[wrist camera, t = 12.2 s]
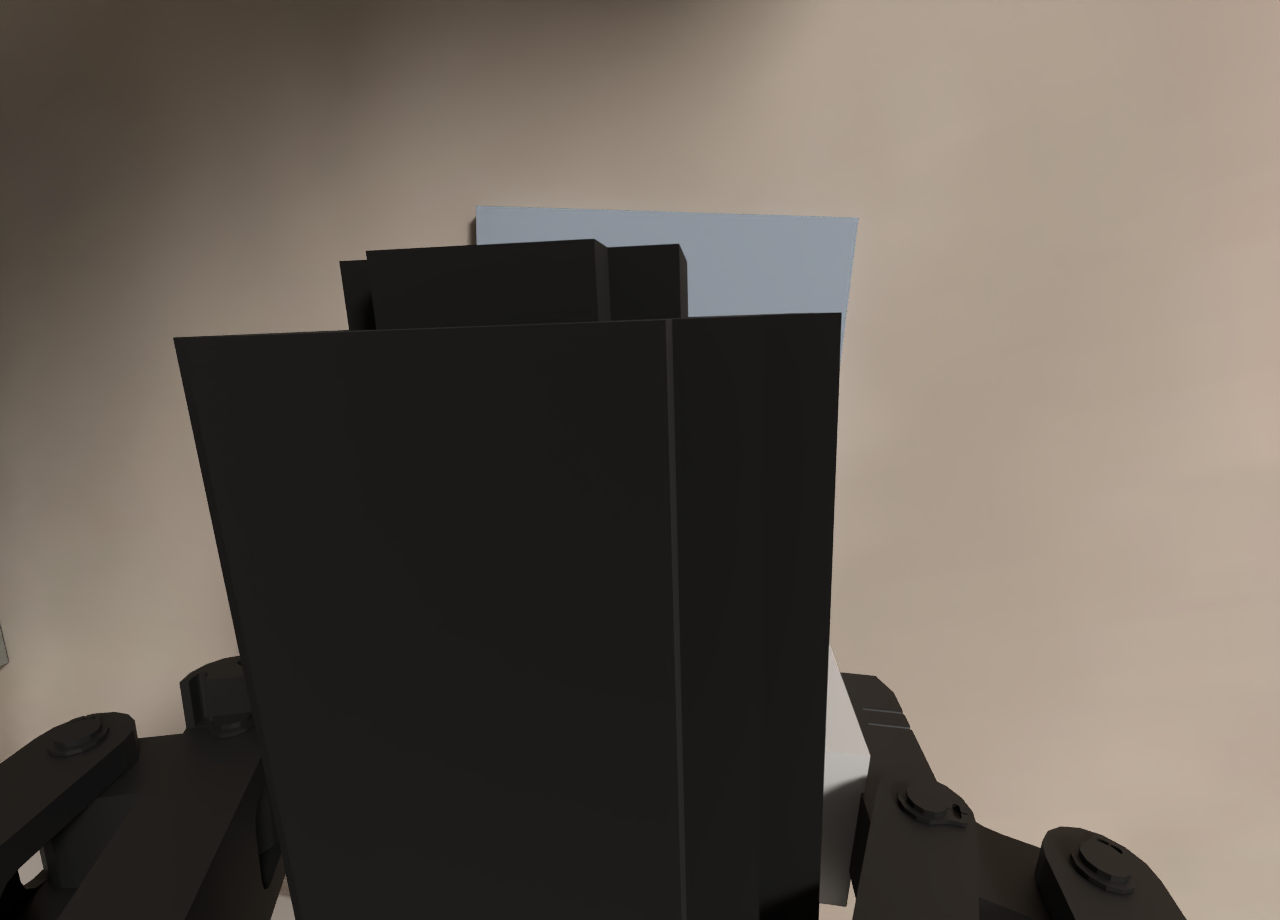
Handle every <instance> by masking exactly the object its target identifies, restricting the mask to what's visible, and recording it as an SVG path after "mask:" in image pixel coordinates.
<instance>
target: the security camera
mask: <svg viewBox="0 0 1280 920" xmlns="http://www.w3.org/2000/svg"><path fill="white" fill-rule="evenodd" d="M366 256H367V260H355V261H339V262H340V269H341V276H342V283H343V290H344V297H345V304H346V311H347V318H348V324H349V330H340V331H316V332H293V333H269V334H246V335H223V336H199V337H176V338H173V339H174V344H175V349H176V354H177V358H178V363H179V368H180V373H181V377H182V382H183V387H184V392H185V396H186V401H187V406H188V411H189V415H190V420H191V425H192V430H193V434H194V439H195V444H196V449H197V454H198V458H199V463H200V468H201V473H202V477H203V482H204V487H205V492H206V496H207V501H208V506H209V511H210V515H211V520H212V525H213V530H214V534H215V539H216V544H217V549H218V553H219V558H220V563H221V568H222V572H223V577H224V582H225V587H226V592H227V596H228V601H229V606H230V611H231V615H232V620H233V625H234V630H235V634H236V639H237V644H238V649H239V653H240V658H241V663H242V668H243V672H244V677H245V682H246V687H247V691H248V696H249V701H250V706H251V711H252V715H253V720H254V725H255V730H256V734H257V739H258V744H259V749H260V753H261V758H262V763H263V768H264V772H265V777H266V782H267V787H268V791H269V796H270V801H271V806H272V810H273V815H274V820H275V825H276V829H277V834H278V839H279V844H280V849H281V853H282V858H283V863H284V868H285V872H286V877H287V882H288V887H289V891H290V896H291V901H292V905H293V910H294V915H295V920H819V895H820V869H821V843H822V817H823V790H824V764H825V738H826V712H827V686H828V659H829V633H830V607H831V581H832V555H833V528H834V502H835V476H836V450H837V424H838V397H839V371H840V345H841V319H842V312H836V313H784V314H758V315H728V316H702V317H688V276H687V260H686V258H685V256H684V253H683V251H682V249H681V247H680V244H660V245H641V246H622V247H606V246H605V245H603V244H602V243H600V242H599V241H597V240H596V239H577V240H558V241H540V242H521V243H503V244H484V245H466V246H448V247H429V248H411V249H392V250H374V251H366Z"/></svg>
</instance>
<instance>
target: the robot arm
mask: <svg viewBox="0 0 1280 920" xmlns="http://www.w3.org/2000/svg"><path fill="white" fill-rule="evenodd" d="M180 689H181V696H182V702H183V709H184V715H185V722H186V730H185V731H184V733H183V734H175V735H166V736H156V737H146V738H138V737H137V731H136V725H135V720H134V719H133V718H131V717H130V716H129V715H128V714H123V713H118V712H109V713H96V714H90V715H87V716H85V717H84V716H82V717H78V718H75V719H72V720H71V721H69V722H66V723H64V724H62V725H59V726H57V727H54V728H52V729H51V730H49V731H47V732H46V733H44V734H42V735H40V736H39V737H37V738H35V739H34V740H33V741H31V742H30V743H28V744H27V745H26V746H24V747H23V748H21V749H20V750H19V751H17V752H16V753H15V754H13V755H12V756H10V757H9V758H8V759H6V760H5V761H3V762H2V763H1V764H0V920H270V919H271V916H272V913H273V910H274V907H275V904H276V901H277V898H278V895H279V892H280V889H281V886H282V883H283V880H284V877H285V874H286V872H285V868H284V863H283V858H282V853H281V849H280V844H279V839H278V834H277V829H276V825H275V820H274V815H273V810H272V806H271V801H270V796H269V791H268V787H267V782H266V777H265V772H264V768H263V763H262V758H261V753H260V749H259V744H258V739H257V734H256V730H255V725H254V720H253V715H252V711H251V706H250V701H249V696H248V691H247V687H246V682H245V677H244V672H243V668H242V663H241V658H240V656H235V657H229V658H224V659H221V660H218V661H215V662H212V663H209V664H206V665H204V666H202V667H200V668H199V669H197V670H195V671H193V672H191V673H190V674H189V675H187V676H186V677H185V678H184V679H183V680H182V681H181V682H180ZM902 712H903V711H902V709H901V707H900V705H899V703H898V701H897V698H896V696H895V694H894V693H893V692H892V691H891V690H890V689H889V688H888V687H887V686H886V685H885V684H884V683H882V682H881V681H880V680H879V679H878V678H877V677H876V676H870V675H860V674H850V673H841V672H840V671H839V669H838V666H837V663H836V660H835V658H834V655H833V652H832V649H831V647H830V644H829V659H828V686H827V712H826V738H825V764H824V790H823V817H822V843H821V869H820V895H819V903H823V904H830V905H837V906H844V907H846V905H847V899H848V893H849V887H850V880H851V881H852V885H853V889H854V893H855V897H856V903H855V908H854V914H853V919H852V920H1186V918H1185V917H1184V915H1183V914H1182V912H1181V911H1180V909H1179V907H1178V906H1177V904H1176V903H1175V901H1174V900H1173V898H1172V897H1171V895H1170V894H1169V892H1168V891H1167V889H1166V888H1165V886H1164V885H1163V883H1162V881H1161V880H1160V879H1159V878H1158V877H1157V876H1156V875H1155V873H1154V872H1153V871H1152V870H1151V869H1150V868H1149V866H1148V865H1147V864H1146V863H1145V862H1143V861H1142V860H1141V859H1139V858H1138V857H1137V856H1136V855H1134V854H1133V853H1132V852H1130V851H1129V850H1128V849H1126V848H1125V847H1123V846H1121V845H1120V844H1118V843H1116V842H1114V841H1112V840H1110V839H1108V838H1106V837H1105V836H1103V835H1100V834H1097V833H1094V832H1091V831H1088V830H1085V829H1081V828H1074V827H1058V828H1055V829H1052V830H1049V831H1048V832H1047V834H1046V835H1045V837H1044V839H1043V841H1042V845H1041V848H1039V847H1036V846H1033V845H1030V844H1027V843H1025V842H1022V841H1019V840H1016V839H1013V838H1010V837H1008V836H1005V835H1002V834H999V833H997V832H995V831H993V830H990V829H988V828H986V827H984V826H982V825H980V824H978V823H977V822H976V821H975V818H974V815H973V812H972V810H971V809H970V808H969V807H968V805H967V804H966V803H965V802H964V800H963V799H962V798H961V797H960V796H959V795H957V794H956V793H955V792H953V791H952V790H951V789H949V788H948V787H947V786H945V785H943V784H941V783H939V782H937V781H936V779H935V776H934V774H933V772H932V770H931V768H930V766H929V764H928V762H927V760H926V758H925V756H924V754H923V752H922V750H921V748H920V746H919V744H918V742H917V740H916V737H915V735H914V733H913V731H912V730H910V725H909V723H908V721H907V719H906V717H905V715H904V714H903V713H902ZM39 850H40V854H41V859H42V863H43V868H44V869H43V870H42V871H41V872H40V873H39V874H38V875H37V876H36V877H35V878H34V879H33V880H31V881H30V882H28V883H27V884H25V885H24V886H23V884H22V883H21V881H20V877H19V873H18V869H19V868H20V867H21V866H22V865H23V864H24V863H25V862H26V861H28V860H29V859H30V858H31V857H32V856H33V855H34V854H35V853H36V852H37V851H39Z"/></svg>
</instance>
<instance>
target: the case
mask: <svg viewBox="0 0 1280 920" xmlns="http://www.w3.org/2000/svg"><path fill="white" fill-rule="evenodd" d="M6 663H8V658H7V654H6V650H5V645H4V641H3V637H2V633H1V628H0V666H2V665H4V664H6Z"/></svg>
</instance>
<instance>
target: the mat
mask: <svg viewBox="0 0 1280 920" xmlns="http://www.w3.org/2000/svg"><path fill="white" fill-rule="evenodd" d="M857 226H858V218H851V217H820V216H788V215H756V214H724V213H692V212H661V211H629V210H597V209H565V208H534V207H502V206H476V235H477V245H484V244H503V243H521V242H540V241H558V240H577V239H596V240H597V241H599V242H600V243H602V244H603V245H605V246H606V247H622V246H641V245H660V244H680V247H681V249H682V251H683V253H684V256H685V258H686V260H687V276H688V317H702V316H728V315H758V314H784V313H836V312H842V319H841V345H840V361H841V353H842V345H843V337H844V329H845V322H846V314H847V306H848V298H849V290H850V282H851V274H852V266H853V258H854V250H855V242H856V234H857Z"/></svg>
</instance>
